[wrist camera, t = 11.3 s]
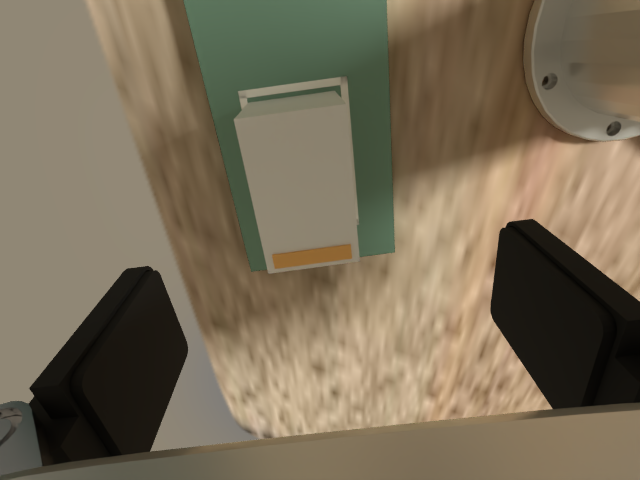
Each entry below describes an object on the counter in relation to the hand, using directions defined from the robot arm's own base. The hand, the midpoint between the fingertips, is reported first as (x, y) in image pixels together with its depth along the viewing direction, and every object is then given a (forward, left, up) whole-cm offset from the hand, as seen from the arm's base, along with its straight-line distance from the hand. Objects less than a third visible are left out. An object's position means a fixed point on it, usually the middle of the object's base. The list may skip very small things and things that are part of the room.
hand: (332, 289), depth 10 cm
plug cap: (0, +1, -13) cm, 13 cm away
